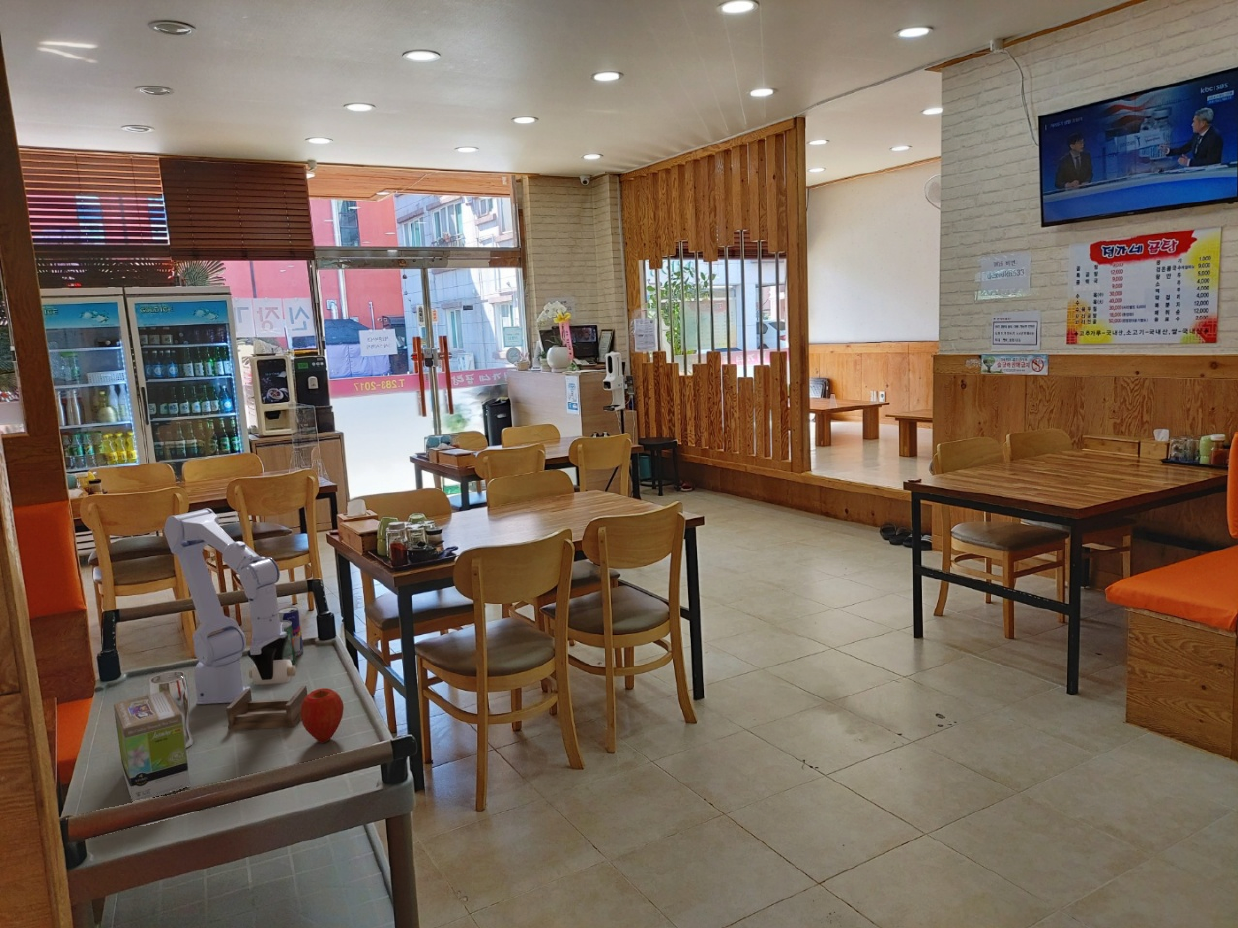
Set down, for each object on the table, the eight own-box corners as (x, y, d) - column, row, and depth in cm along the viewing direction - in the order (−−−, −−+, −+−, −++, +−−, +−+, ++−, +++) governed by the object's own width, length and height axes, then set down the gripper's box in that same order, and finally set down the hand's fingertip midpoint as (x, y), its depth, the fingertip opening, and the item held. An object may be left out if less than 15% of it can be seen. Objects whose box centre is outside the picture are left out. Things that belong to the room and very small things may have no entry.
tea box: (192, 787, 164) (182, 712, 162) (132, 806, 158) (120, 729, 156) (178, 757, 176) (169, 687, 174) (122, 773, 171) (111, 702, 168)
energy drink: (299, 656, 228) (293, 612, 226) (278, 657, 228) (273, 613, 226) (306, 649, 233) (301, 605, 231) (286, 650, 233) (281, 606, 231)
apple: (350, 743, 178) (345, 692, 177) (307, 754, 174) (301, 703, 173) (342, 727, 186) (337, 678, 184) (300, 737, 182) (294, 688, 180)
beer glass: (203, 739, 183) (193, 671, 181) (176, 755, 177) (166, 685, 174) (177, 736, 186) (167, 668, 183) (150, 751, 179) (139, 682, 177)
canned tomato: (256, 672, 219) (251, 630, 217) (275, 660, 226) (270, 619, 225) (284, 673, 217) (279, 631, 215) (302, 661, 224) (298, 620, 223)
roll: (248, 689, 191) (245, 668, 190) (257, 678, 196) (253, 657, 195) (291, 686, 192) (288, 665, 190) (299, 675, 196) (296, 655, 195)
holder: (228, 730, 187) (225, 708, 186) (247, 709, 197) (244, 688, 196) (293, 726, 187) (291, 704, 186) (309, 706, 197) (307, 685, 196)
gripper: (270, 624, 184) (278, 686, 186) (294, 603, 198) (301, 660, 201) (237, 626, 184) (244, 688, 186) (263, 605, 198) (270, 662, 200)
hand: (271, 673), depth 193 cm, fingers closed on roll, 5 cm apart
